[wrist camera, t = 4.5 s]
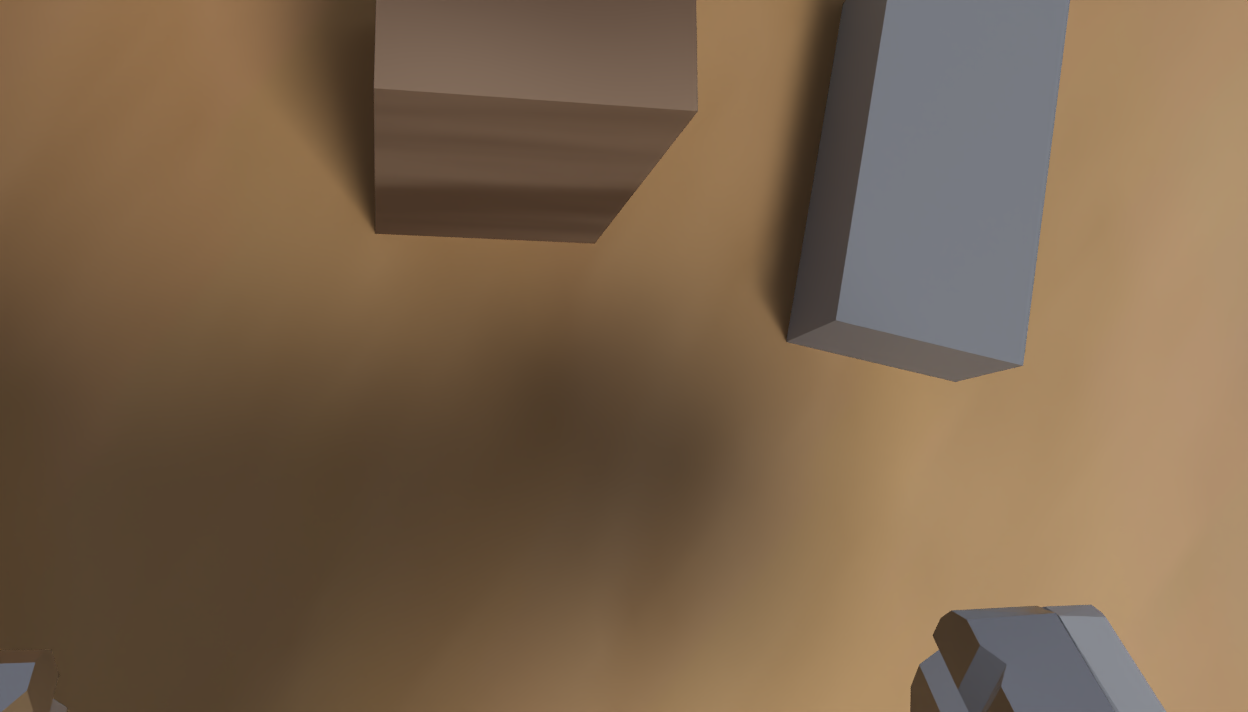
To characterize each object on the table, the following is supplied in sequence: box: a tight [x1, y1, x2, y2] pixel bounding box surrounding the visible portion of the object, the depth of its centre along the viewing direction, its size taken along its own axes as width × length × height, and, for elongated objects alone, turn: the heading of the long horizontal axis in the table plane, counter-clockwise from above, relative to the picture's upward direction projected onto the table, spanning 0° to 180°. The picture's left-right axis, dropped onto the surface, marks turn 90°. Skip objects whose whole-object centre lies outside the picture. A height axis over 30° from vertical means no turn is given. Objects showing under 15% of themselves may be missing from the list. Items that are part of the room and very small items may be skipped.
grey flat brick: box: [786, 0, 1070, 382], centre depth 24 cm, size 8×4×3 cm, turn 169°
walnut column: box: [374, 0, 698, 243], centre depth 20 cm, size 4×4×8 cm
